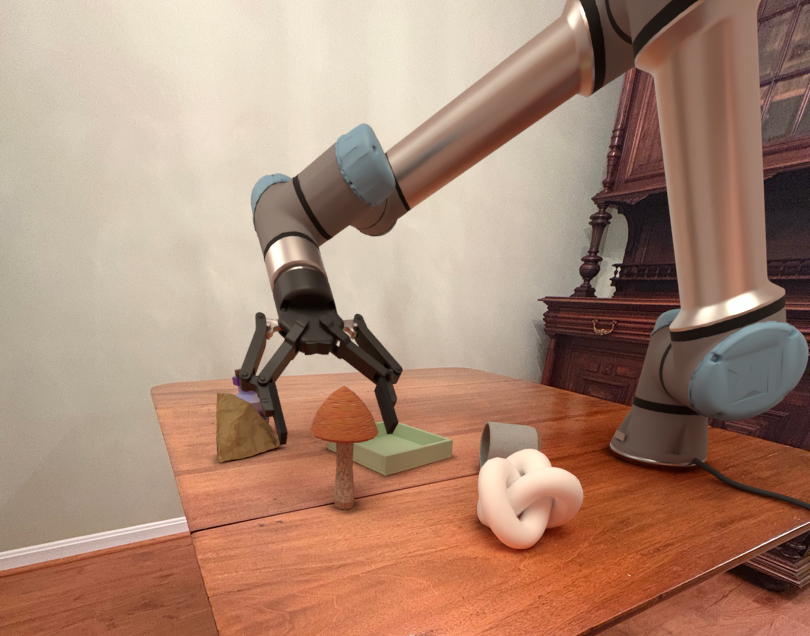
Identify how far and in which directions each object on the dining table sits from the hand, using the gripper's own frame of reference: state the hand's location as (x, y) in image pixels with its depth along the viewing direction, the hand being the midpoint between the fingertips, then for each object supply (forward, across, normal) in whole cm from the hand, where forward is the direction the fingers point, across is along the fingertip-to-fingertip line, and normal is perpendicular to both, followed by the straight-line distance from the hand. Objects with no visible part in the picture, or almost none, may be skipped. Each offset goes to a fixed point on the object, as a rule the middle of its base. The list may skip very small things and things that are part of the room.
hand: (341, 434), depth 51 cm
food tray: (-6, -14, -19) cm, 24 cm away
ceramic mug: (+4, -28, -9) cm, 30 cm away
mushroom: (+8, 0, -6) cm, 9 cm away
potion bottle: (-19, +7, -32) cm, 38 cm away
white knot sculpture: (+17, -16, +3) cm, 24 cm away
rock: (-11, +9, -25) cm, 29 cm away
